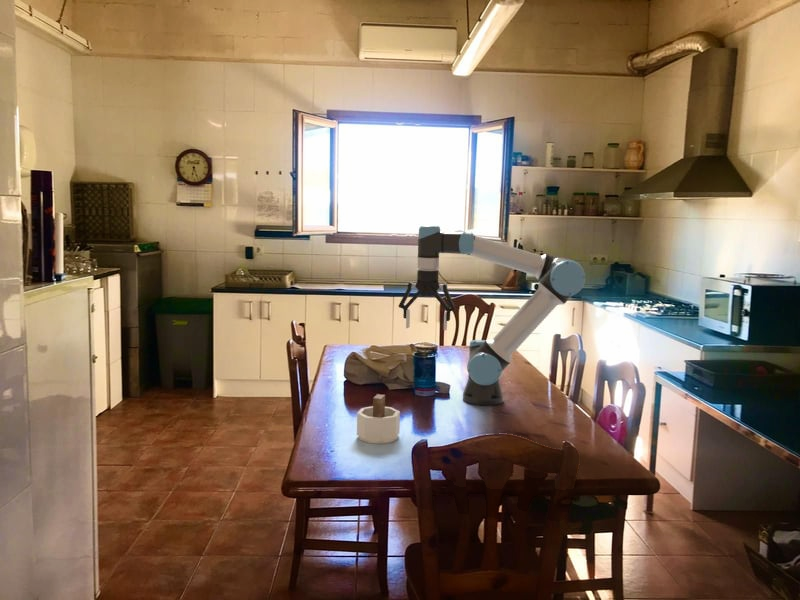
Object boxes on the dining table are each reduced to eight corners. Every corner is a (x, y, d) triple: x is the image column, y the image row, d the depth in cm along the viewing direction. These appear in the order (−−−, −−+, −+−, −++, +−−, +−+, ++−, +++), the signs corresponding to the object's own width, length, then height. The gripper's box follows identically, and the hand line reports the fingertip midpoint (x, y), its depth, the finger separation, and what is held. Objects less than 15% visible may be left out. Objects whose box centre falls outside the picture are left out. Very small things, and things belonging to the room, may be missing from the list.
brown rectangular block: (384, 431, 205) (385, 394, 204) (380, 436, 201) (380, 398, 199) (376, 430, 206) (377, 394, 204) (372, 435, 201) (373, 398, 200)
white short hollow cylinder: (401, 432, 208) (402, 408, 207) (393, 445, 196) (393, 420, 195) (364, 428, 211) (364, 404, 210) (353, 441, 199) (353, 416, 198)
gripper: (464, 270, 231) (462, 329, 234) (395, 267, 236) (394, 324, 239) (461, 271, 223) (459, 332, 226) (391, 268, 229) (390, 328, 232)
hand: (426, 328), depth 233 cm, fingers open, 13 cm apart
